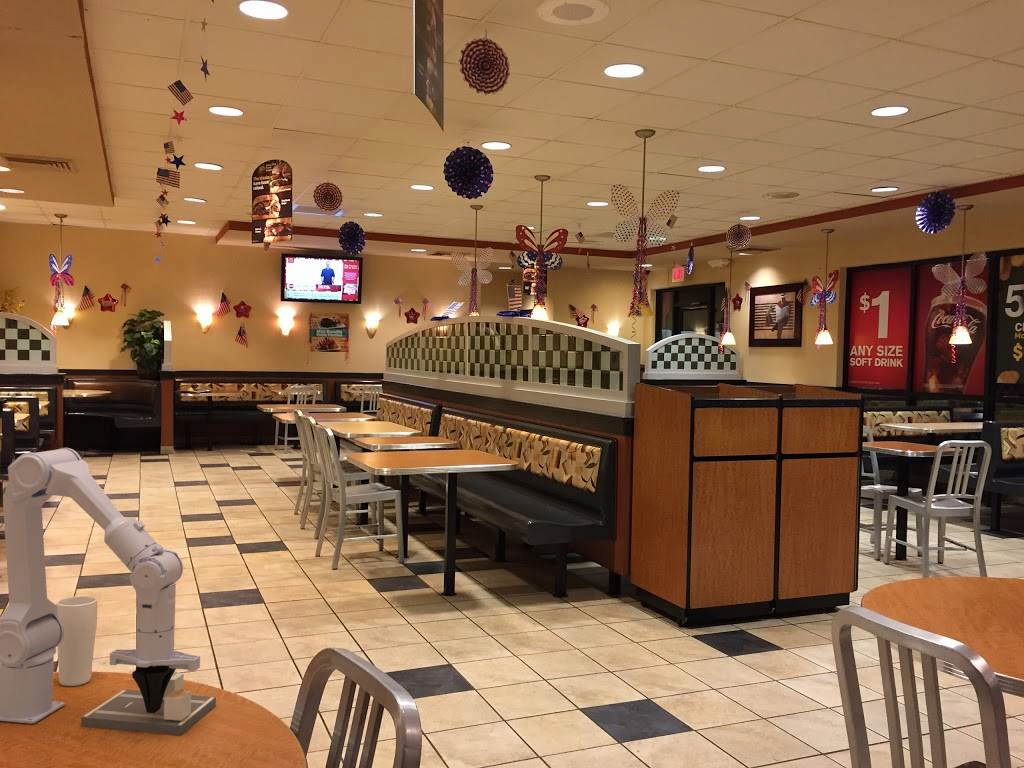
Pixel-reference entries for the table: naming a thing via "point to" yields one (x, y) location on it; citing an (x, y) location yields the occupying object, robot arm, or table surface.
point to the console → (143, 714)
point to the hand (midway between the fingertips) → (153, 710)
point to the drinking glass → (77, 639)
